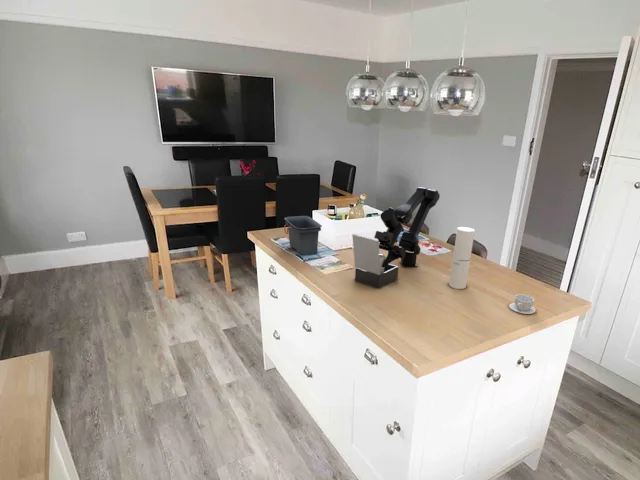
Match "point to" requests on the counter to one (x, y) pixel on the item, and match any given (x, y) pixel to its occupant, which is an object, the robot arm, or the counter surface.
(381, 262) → the white cup
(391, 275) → the dark grey open box
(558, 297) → the counter surface
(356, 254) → the grey flat rectangular panel
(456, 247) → the cylindrical container
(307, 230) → the storage bin
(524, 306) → the teacup
